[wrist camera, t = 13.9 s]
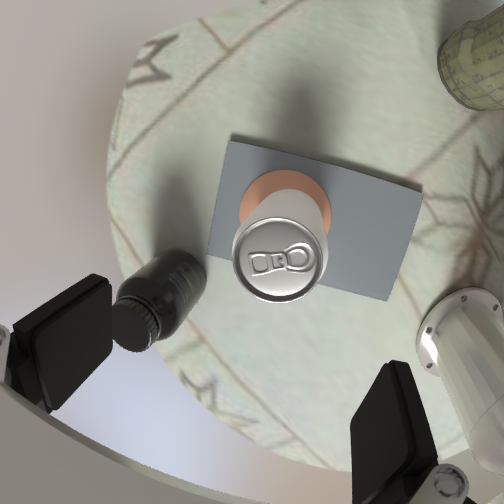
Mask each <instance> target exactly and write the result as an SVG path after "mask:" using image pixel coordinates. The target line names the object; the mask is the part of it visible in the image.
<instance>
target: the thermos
mask: <svg viewBox="0 0 504 504" xmlns="http://www.w3.org/2000/svg"><path fill="white" fill-rule="evenodd" d="M437 65H438V71H439V74H440V77H441V80H442V82H443V84H444V86H445V87H446V89H447V90H448V92H449V93H450V94H451V95H452V96H453V97H454V99H455V100H456V101H457V102H459V103H460V104H462V105H463V106H465V107H467V108H469V109H472V110H476V111H482V110H498V109H504V4H503V5H502V6H500V7H499V8H497V9H496V10H494V11H493V12H491V13H490V14H489V15H487V16H486V17H484V18H483V19H482V20H479V21H468V22H467V23H466V24H464V25H463V26H462V27H460V28H459V29H458V30H457V31H455V32H454V33H453V34H452V35H451V37H450V38H449V39H448V40H446V41H445V42H444V43H443V45H442V46H441V47H440V48H439V52H438V56H437Z"/></svg>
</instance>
